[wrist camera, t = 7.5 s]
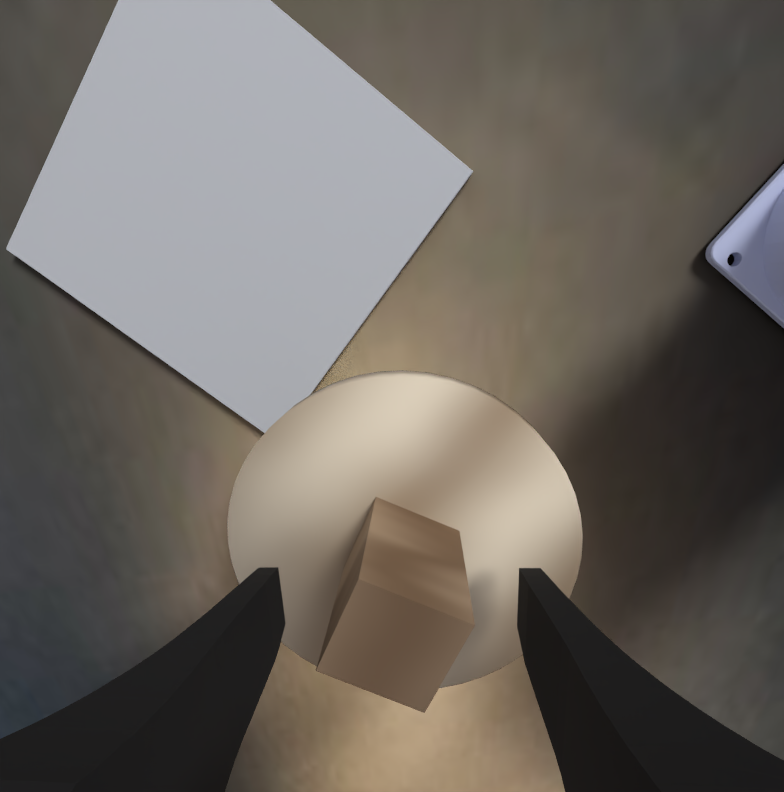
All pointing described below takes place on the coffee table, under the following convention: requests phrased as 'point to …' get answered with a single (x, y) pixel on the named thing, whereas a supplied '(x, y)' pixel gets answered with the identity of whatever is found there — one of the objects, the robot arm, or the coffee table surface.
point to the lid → (403, 529)
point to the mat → (232, 197)
